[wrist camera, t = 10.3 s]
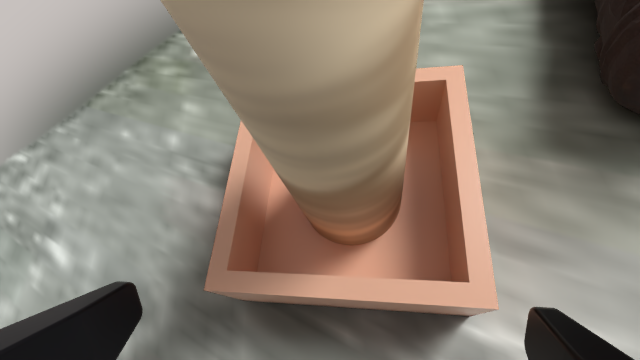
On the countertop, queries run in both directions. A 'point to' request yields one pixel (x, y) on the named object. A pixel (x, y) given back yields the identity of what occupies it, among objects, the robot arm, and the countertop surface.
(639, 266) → the countertop surface
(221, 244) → the box
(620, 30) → the dark brown elbow
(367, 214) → the beech dowel
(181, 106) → the countertop surface
